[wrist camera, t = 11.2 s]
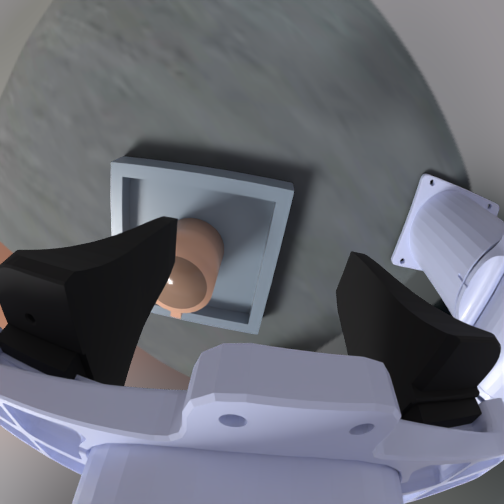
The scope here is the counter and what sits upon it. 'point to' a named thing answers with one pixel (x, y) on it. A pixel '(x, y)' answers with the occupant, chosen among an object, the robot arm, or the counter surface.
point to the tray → (221, 218)
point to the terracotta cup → (193, 268)
